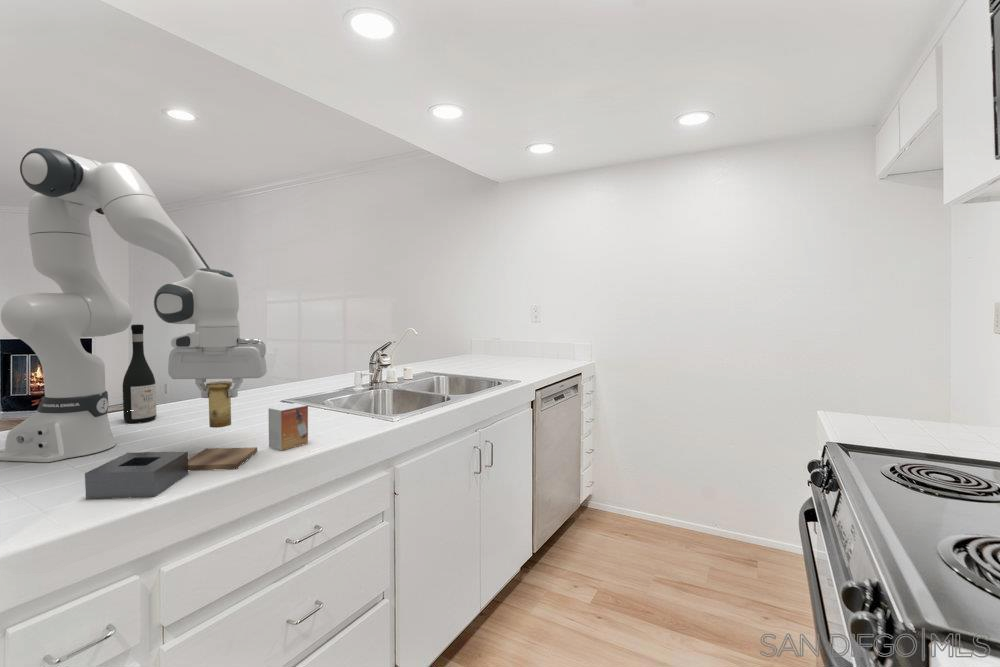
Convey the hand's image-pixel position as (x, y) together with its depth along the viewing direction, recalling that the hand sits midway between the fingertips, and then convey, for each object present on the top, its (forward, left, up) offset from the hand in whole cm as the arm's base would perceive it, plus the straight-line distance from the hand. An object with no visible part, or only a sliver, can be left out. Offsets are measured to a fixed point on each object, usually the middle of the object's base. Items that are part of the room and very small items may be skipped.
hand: (219, 397), depth 107 cm
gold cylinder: (0, 0, -7) cm, 7 cm away
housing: (-9, -14, -15) cm, 23 cm away
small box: (+12, +11, -16) cm, 22 cm away
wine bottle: (-41, +40, -16) cm, 59 cm away
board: (0, 0, -15) cm, 15 cm away
